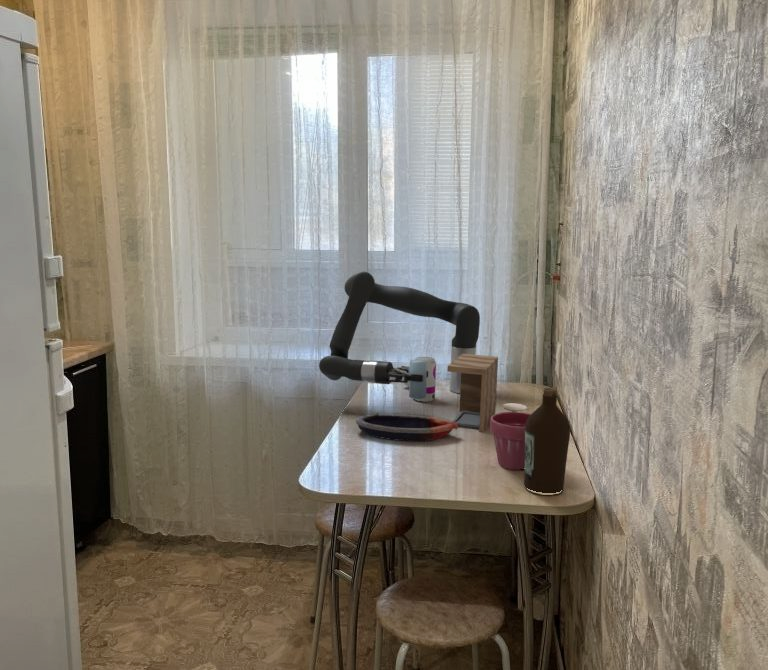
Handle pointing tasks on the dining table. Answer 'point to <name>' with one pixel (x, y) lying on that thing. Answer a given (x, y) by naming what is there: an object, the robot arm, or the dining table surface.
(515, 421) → the plant pot
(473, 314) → the robot arm
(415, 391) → the tall pale blue cylinder
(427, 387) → the supplement can
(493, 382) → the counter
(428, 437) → the dish
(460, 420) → the tray
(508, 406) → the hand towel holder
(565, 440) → the olive oil
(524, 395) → the dining table surface
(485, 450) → the dining table surface
